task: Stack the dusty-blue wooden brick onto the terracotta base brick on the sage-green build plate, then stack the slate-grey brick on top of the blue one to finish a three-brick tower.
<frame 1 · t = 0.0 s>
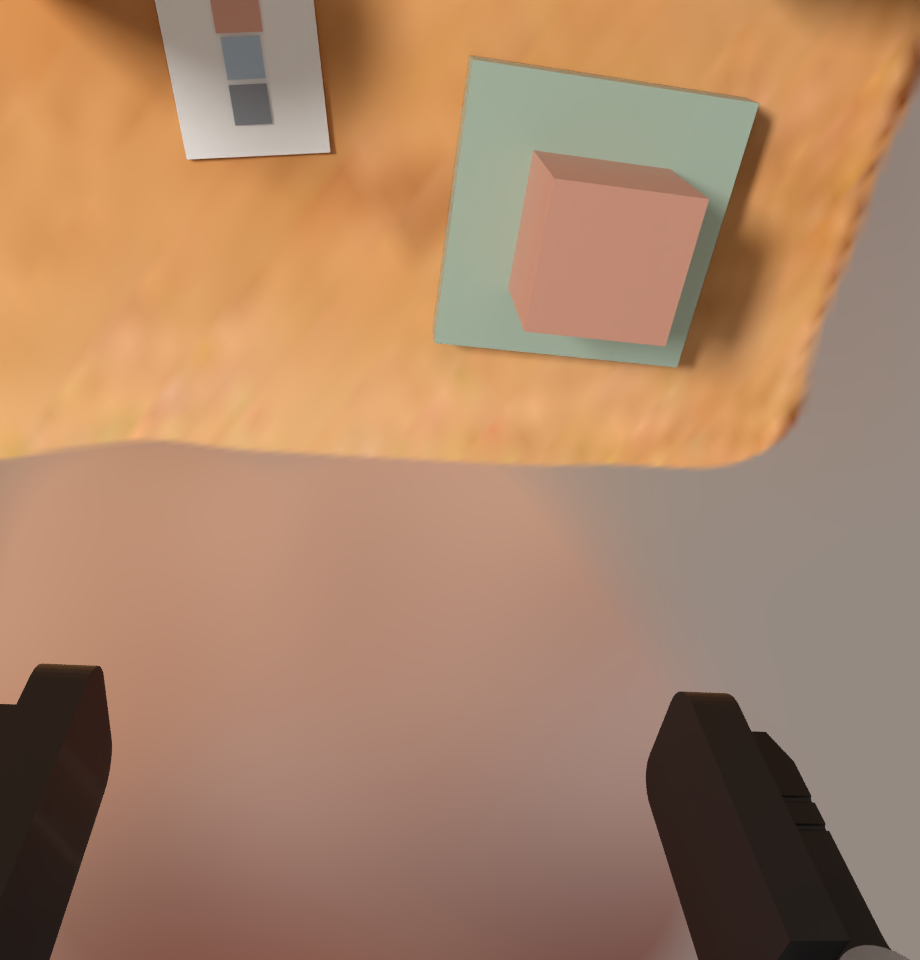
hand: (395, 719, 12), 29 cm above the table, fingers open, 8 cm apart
build plate: (579, 221, 37), on the table
instruction card: (242, 48, 33), on the table
base brick: (586, 230, 36), point 1 cm above the table, touching build plate
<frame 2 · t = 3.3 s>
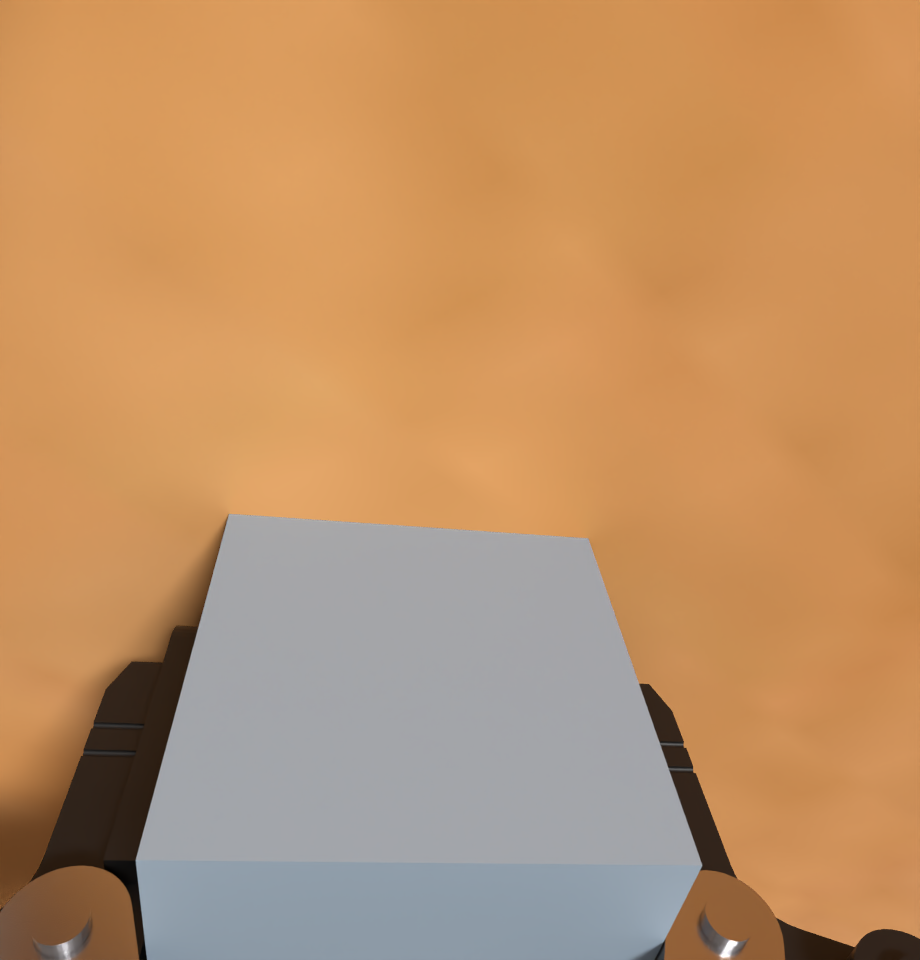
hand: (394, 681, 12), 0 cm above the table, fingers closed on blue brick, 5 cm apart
blue brick: (396, 656, 13), on the table, touching gripper
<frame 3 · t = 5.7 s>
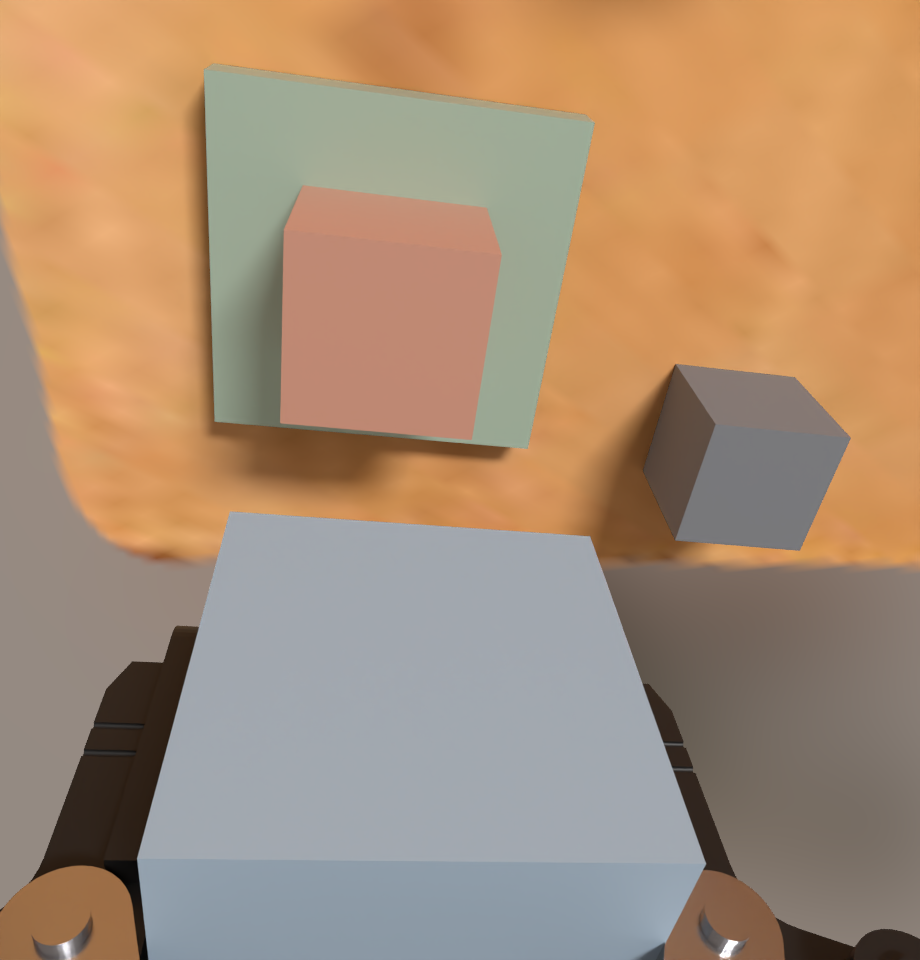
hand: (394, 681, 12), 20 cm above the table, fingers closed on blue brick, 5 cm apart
slate brick: (715, 424, 34), on the table
build plate: (388, 270, 30), on the table
blue brick: (397, 655, 13), point 20 cm above the table, touching gripper
base brick: (388, 285, 28), point 1 cm above the table, touching build plate
when the fingers open (8 cm above the table, at t = 8.5 s): blue brick stays where it is, resting on base brick.
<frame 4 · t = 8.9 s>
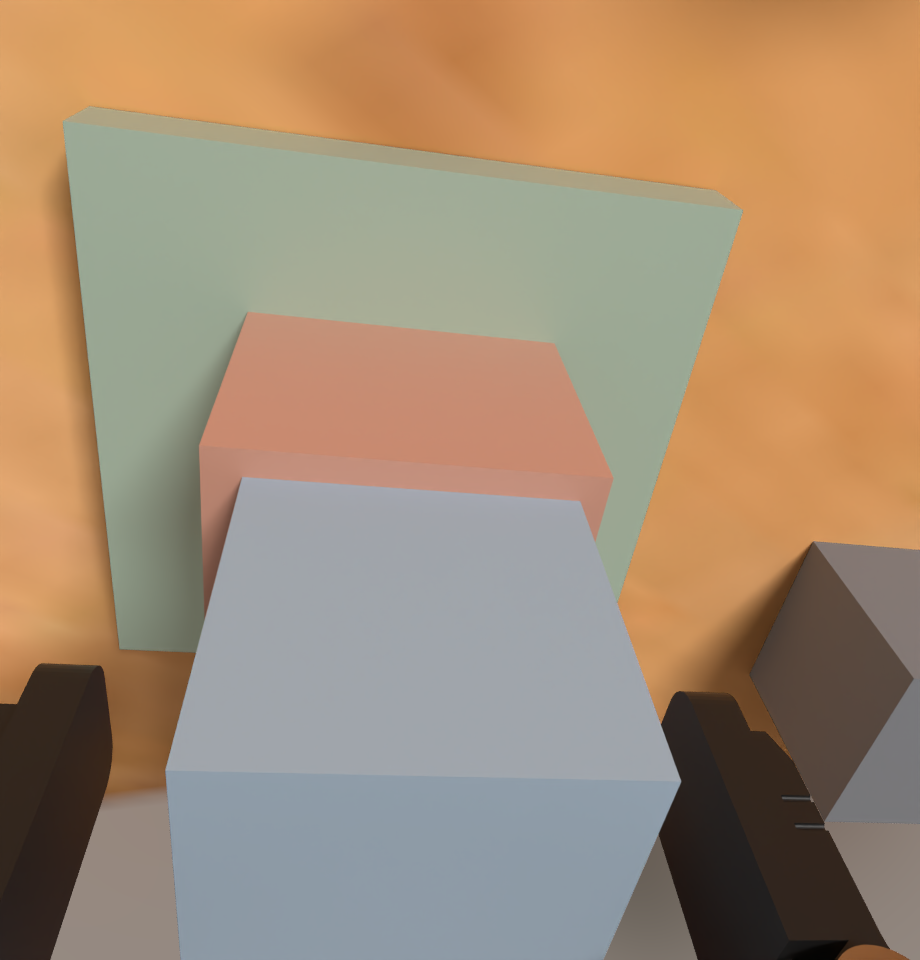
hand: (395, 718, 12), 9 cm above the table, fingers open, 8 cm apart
slate brick: (858, 615, 24), on the table
build plate: (389, 424, 19), on the table
blue brick: (399, 616, 13), point 6 cm above the table, touching base brick
base brick: (390, 458, 18), point 1 cm above the table, touching blue brick, build plate
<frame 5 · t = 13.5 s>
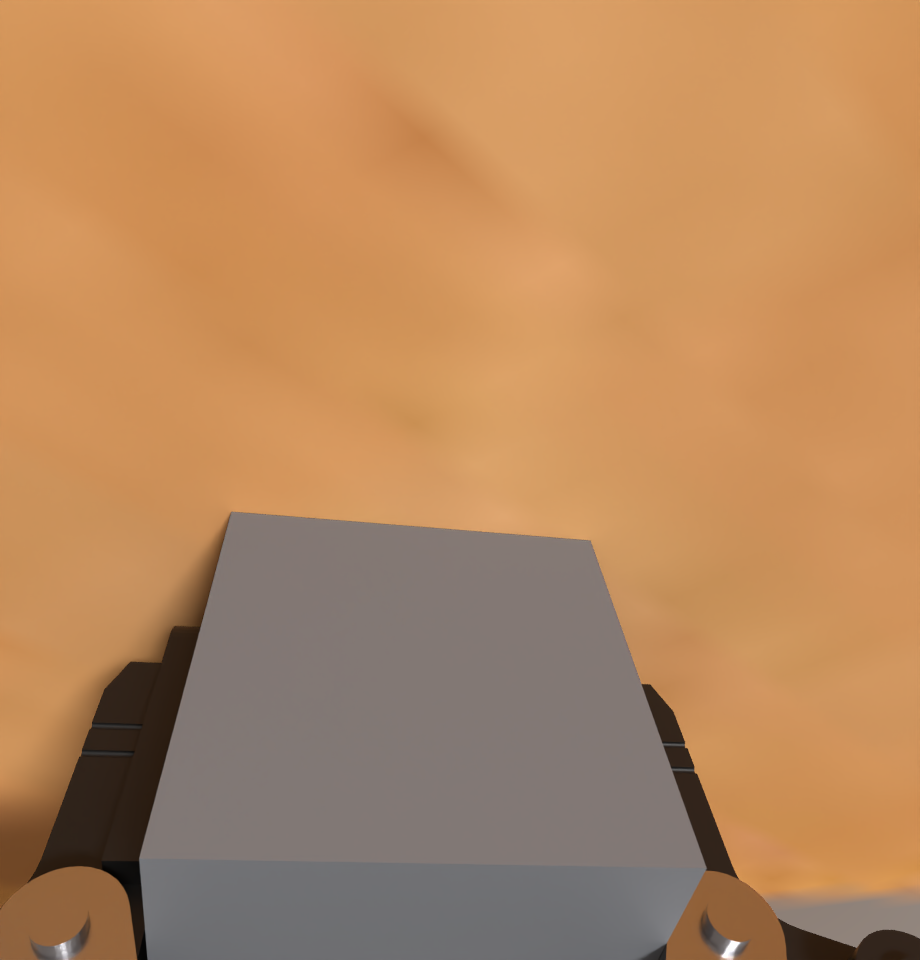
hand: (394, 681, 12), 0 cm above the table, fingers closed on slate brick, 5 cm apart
slate brick: (396, 657, 13), on the table, touching gripper
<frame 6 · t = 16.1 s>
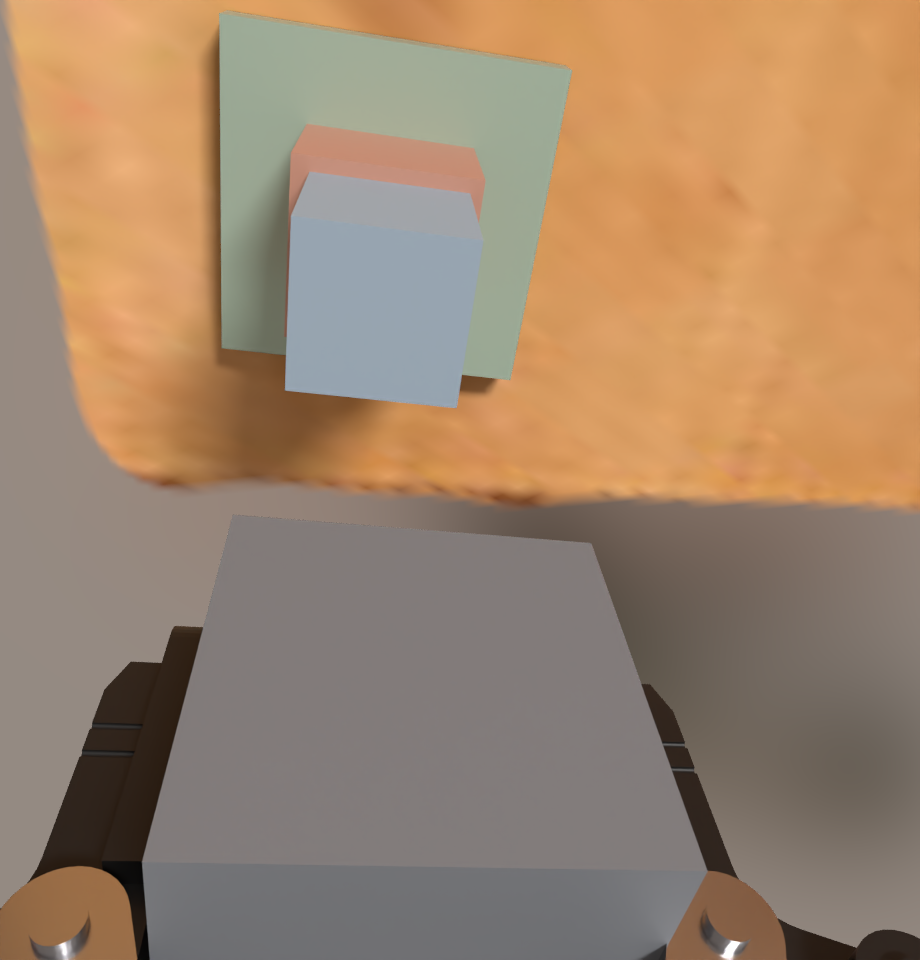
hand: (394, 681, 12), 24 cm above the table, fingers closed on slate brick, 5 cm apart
slate brick: (397, 659, 13), point 24 cm above the table, touching gripper
build plate: (384, 209, 32), on the table
blue brick: (383, 261, 27), point 6 cm above the table, touching base brick
base brick: (383, 220, 31), point 1 cm above the table, touching blue brick, build plate
when the fingers open (13 cm above the table, at t = 18.7 s): slate brick stays where it is, resting on blue brick.
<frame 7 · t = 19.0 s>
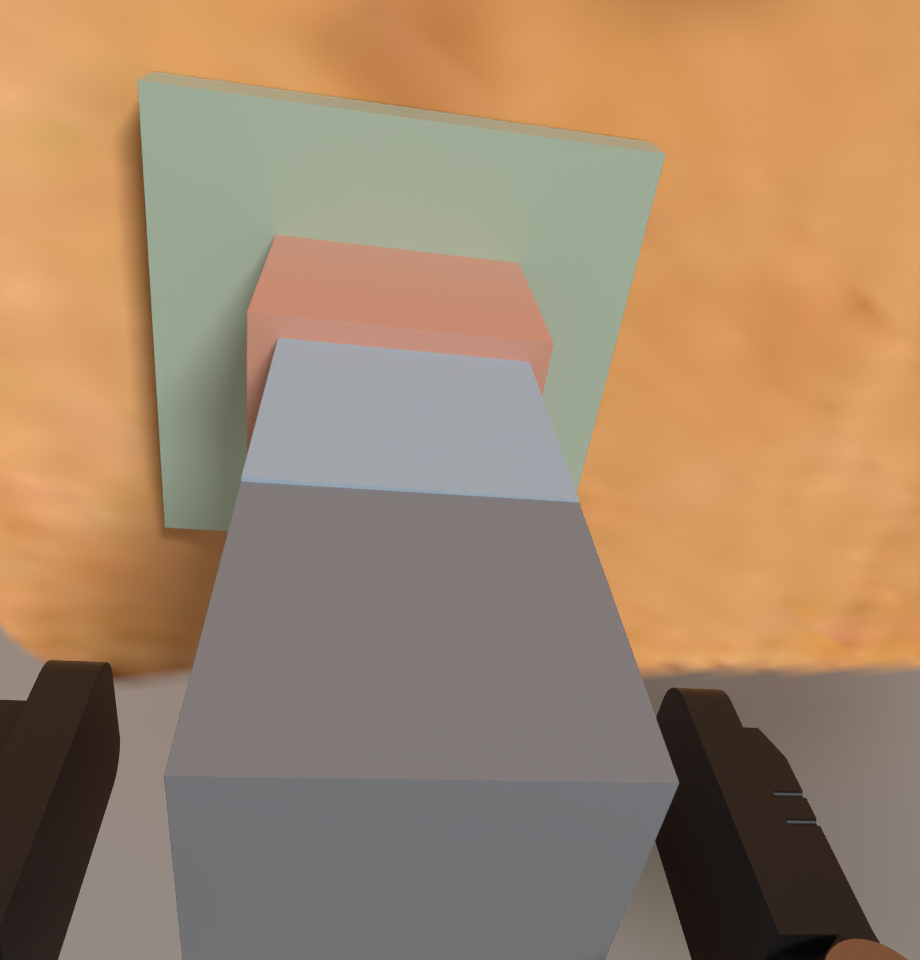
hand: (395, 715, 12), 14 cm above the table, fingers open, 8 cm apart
slate brick: (399, 618, 13), point 11 cm above the table, touching blue brick
build plate: (388, 338, 23), on the table
blue brick: (394, 457, 18), point 6 cm above the table, touching base brick, slate brick
base brick: (388, 360, 22), point 1 cm above the table, touching blue brick, build plate
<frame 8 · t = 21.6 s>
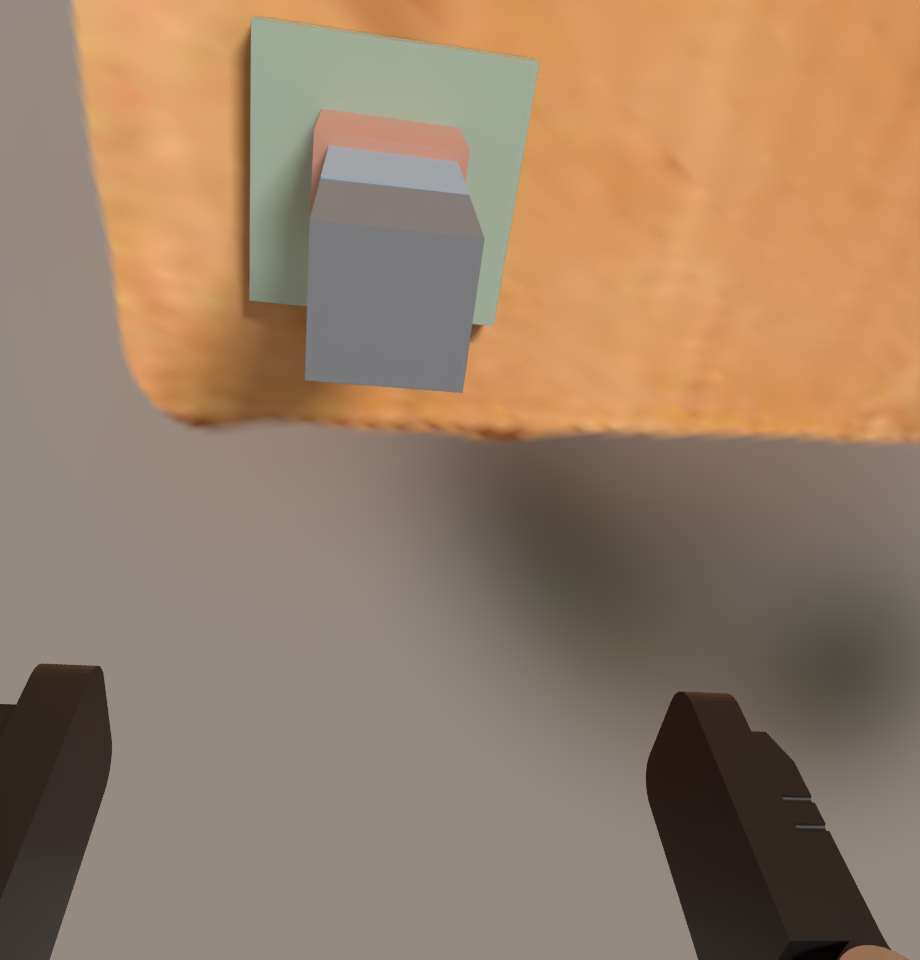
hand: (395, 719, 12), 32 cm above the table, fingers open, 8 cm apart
slate brick: (389, 259, 29), point 11 cm above the table, touching blue brick
build plate: (385, 181, 38), on the table
blue brick: (388, 218, 33), point 6 cm above the table, touching base brick, slate brick
base brick: (385, 188, 37), point 1 cm above the table, touching blue brick, build plate
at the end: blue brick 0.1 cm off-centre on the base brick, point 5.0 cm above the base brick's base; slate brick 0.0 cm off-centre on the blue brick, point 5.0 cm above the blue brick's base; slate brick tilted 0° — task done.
